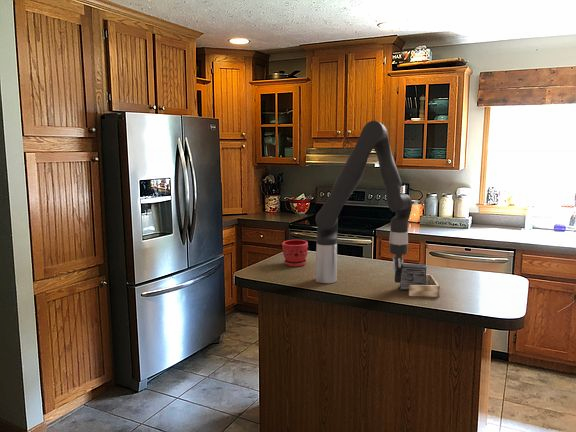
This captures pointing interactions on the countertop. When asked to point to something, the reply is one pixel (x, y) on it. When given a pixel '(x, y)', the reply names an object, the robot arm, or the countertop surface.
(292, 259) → the plant pot
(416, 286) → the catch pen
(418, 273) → the small box
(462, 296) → the countertop surface
